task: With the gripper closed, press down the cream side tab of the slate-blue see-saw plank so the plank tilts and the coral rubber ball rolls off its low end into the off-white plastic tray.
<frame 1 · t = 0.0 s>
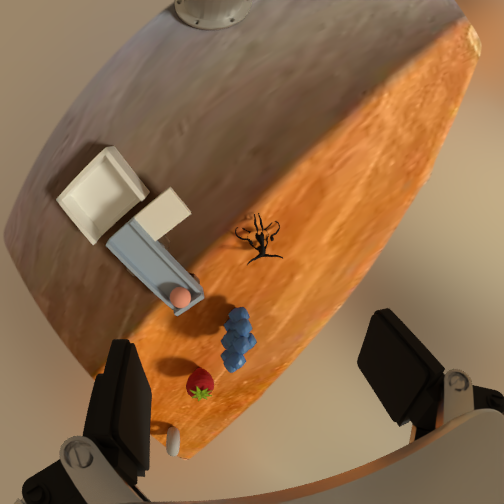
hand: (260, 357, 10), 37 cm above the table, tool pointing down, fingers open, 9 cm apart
lever: (172, 256, 42), point 5 cm above the table, hinge at 4.5°, touching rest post
grapes: (235, 320, 55), on the table
ball: (180, 297, 44), point 6 cm above the table, tilted 11°
tray: (106, 192, 40), on the table
donut: (172, 427, 69), on the table
pivot stand: (151, 246, 45), on the table
strawberry: (198, 367, 59), on the table
creature: (257, 232, 49), on the table
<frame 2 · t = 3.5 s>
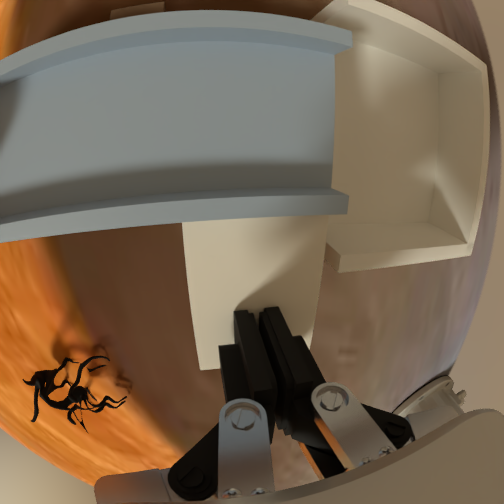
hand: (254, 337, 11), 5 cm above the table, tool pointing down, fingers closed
lever: (78, 237, 8), point 5 cm above the table, hinge at -1.6°, touching gripper
tray: (386, 135, 13), on the table
pivot stand: (153, 125, 11), on the table
creature: (84, 375, 17), on the table
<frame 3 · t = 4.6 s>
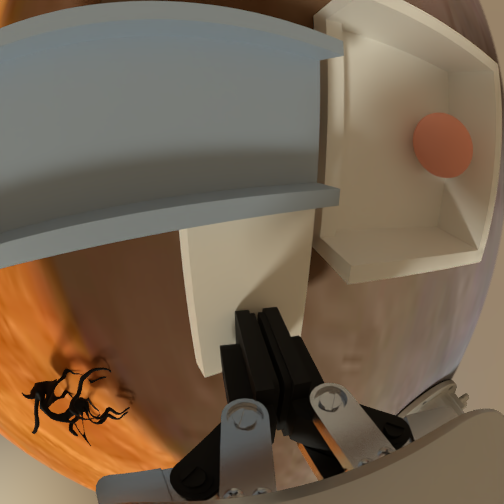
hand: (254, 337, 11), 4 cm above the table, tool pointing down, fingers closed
lever: (72, 255, 6), point 6 cm above the table, hinge at -18.9°, touching gripper
ball: (443, 145, 11), point 2 cm above the table, tilted 67°, touching tray
tray: (395, 136, 13), on the table
creature: (85, 385, 16), on the table
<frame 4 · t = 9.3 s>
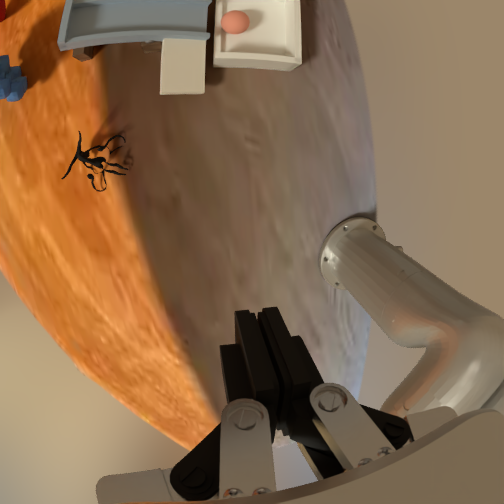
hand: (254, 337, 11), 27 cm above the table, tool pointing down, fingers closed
lever: (133, 41, 20), point 6 cm above the table, hinge at -19.3°
grapes: (15, 82, 21), on the table
ball: (235, 22, 24), point 2 cm above the table, tilted 71°, touching tray
tray: (252, 29, 27), on the table
pivot stand: (156, 31, 24), on the table
strawberry: (5, 18, 14), on the table
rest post: (88, 44, 23), on the table
creature: (105, 160, 31), on the table
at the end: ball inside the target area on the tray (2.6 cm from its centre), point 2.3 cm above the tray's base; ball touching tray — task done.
